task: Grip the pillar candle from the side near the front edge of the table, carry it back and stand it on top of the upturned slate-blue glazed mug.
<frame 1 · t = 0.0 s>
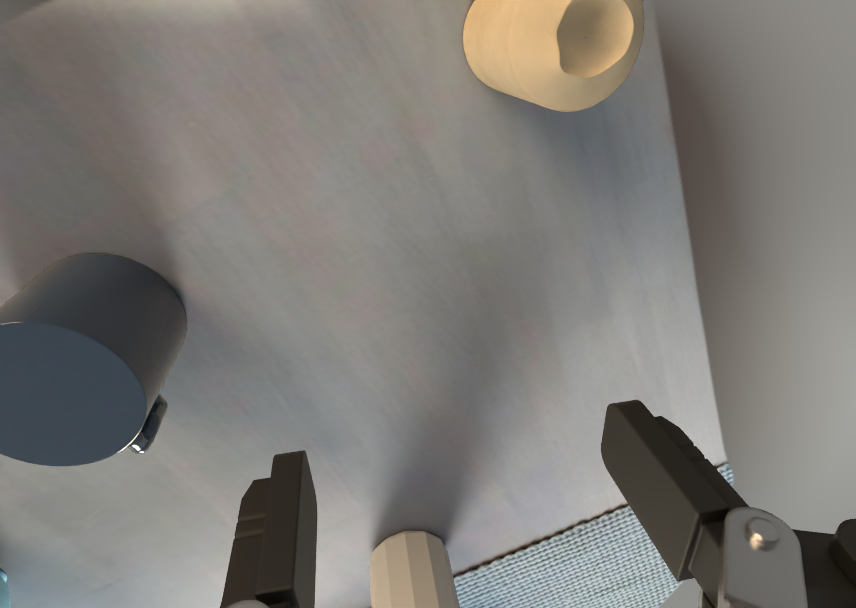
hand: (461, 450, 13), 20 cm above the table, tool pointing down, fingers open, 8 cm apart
water bottle: (403, 556, 47), on the table
mug: (111, 317, 31), on the table
candle: (510, 36, 27), on the table
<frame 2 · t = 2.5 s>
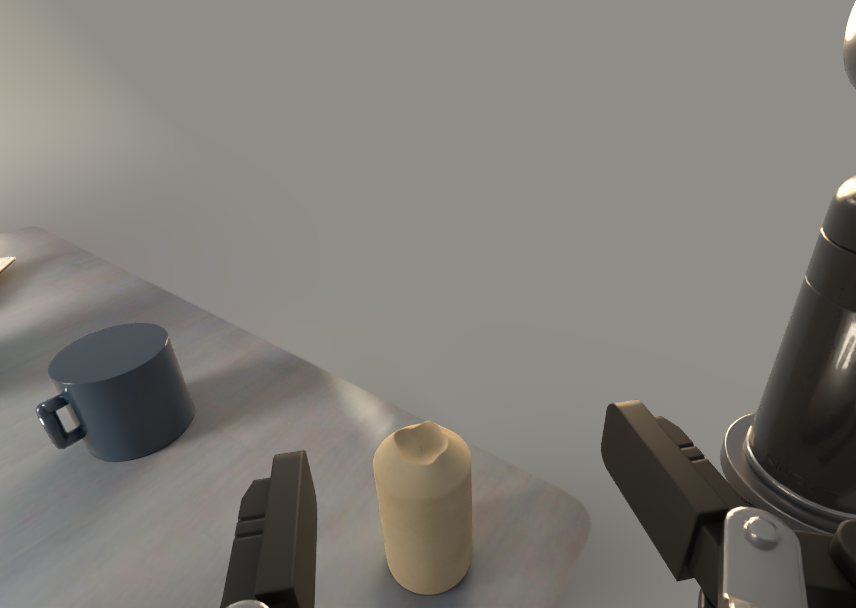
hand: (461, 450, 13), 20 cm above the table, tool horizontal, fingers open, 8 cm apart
mug: (143, 424, 45), on the table
candle: (429, 555, 33), on the table
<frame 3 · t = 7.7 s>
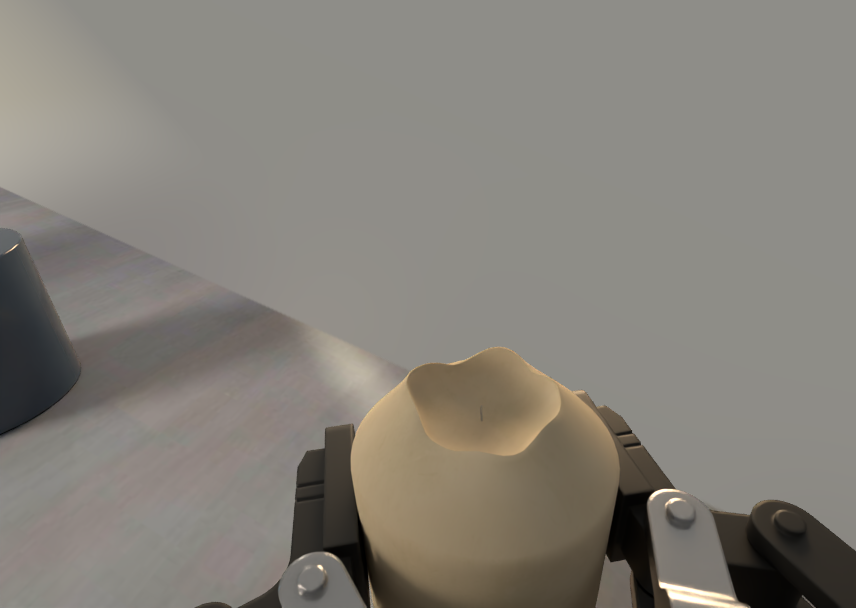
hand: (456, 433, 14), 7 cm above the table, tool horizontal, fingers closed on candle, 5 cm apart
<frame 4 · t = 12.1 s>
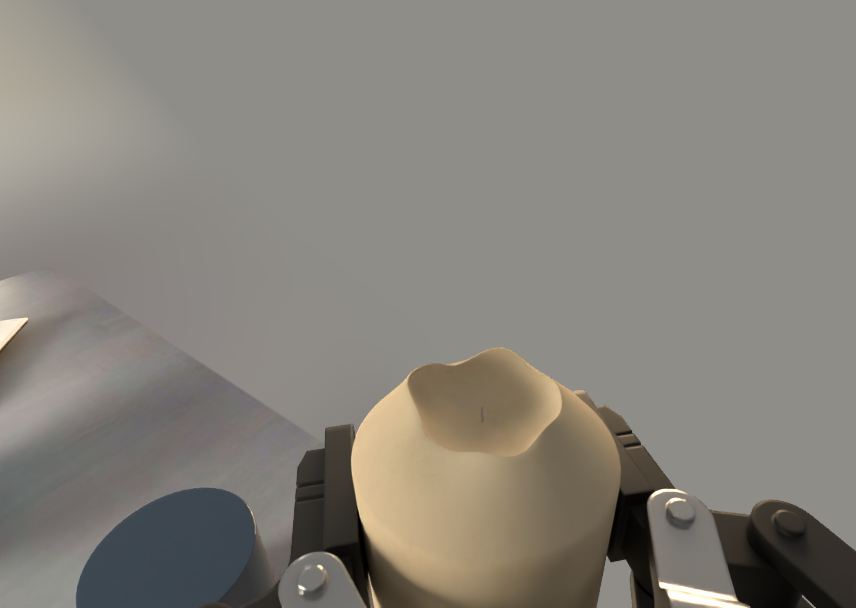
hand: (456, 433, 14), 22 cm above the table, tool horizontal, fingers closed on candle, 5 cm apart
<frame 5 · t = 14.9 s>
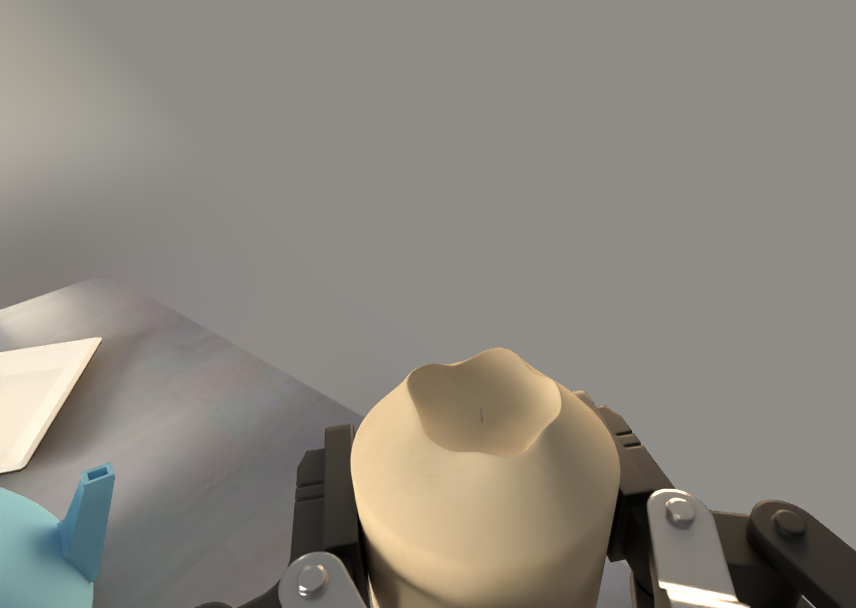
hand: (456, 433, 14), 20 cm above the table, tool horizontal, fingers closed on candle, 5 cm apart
when the fingers open (15 cm above the table, at t = 16.8 s): candle stays where it is, resting on mug.
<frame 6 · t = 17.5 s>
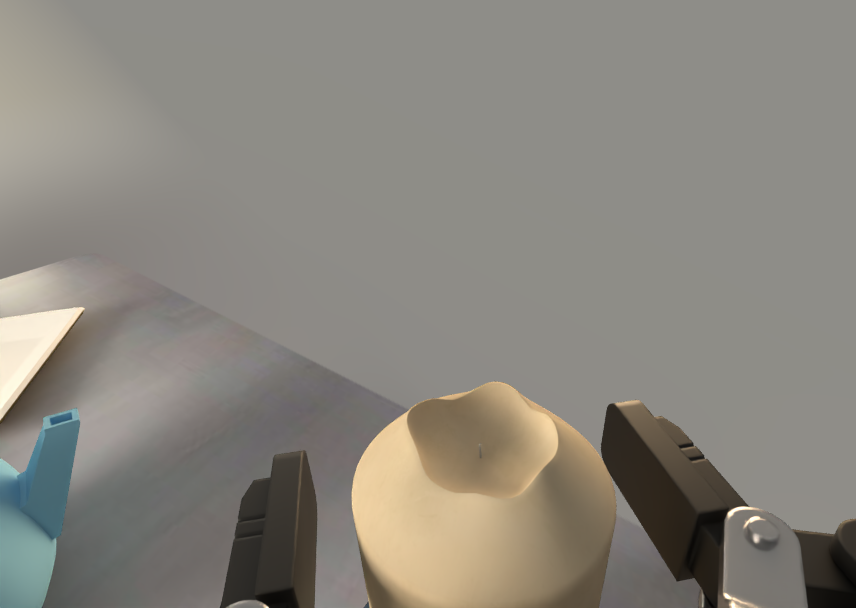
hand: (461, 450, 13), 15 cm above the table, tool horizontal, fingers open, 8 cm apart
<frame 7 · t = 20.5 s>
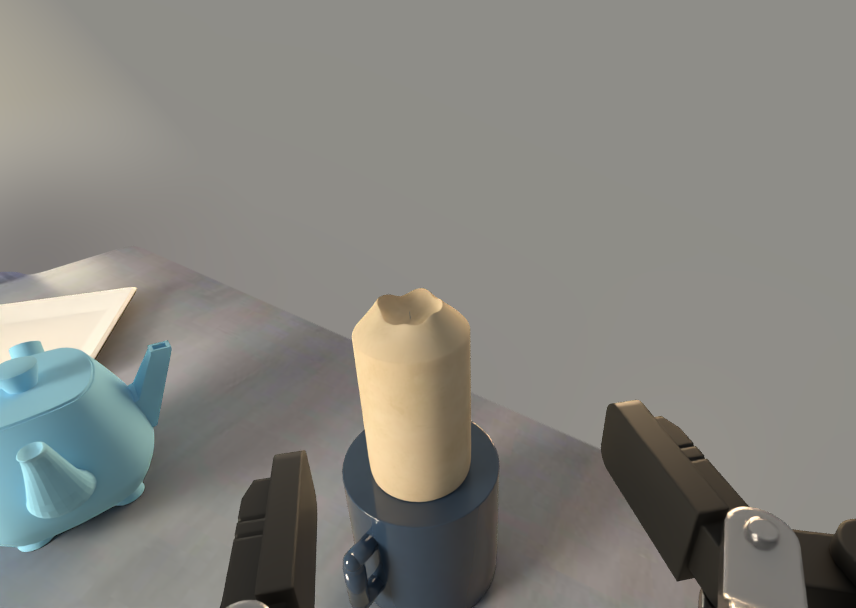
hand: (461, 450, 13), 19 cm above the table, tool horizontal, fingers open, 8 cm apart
mug: (427, 552, 32), on the table, touching candle
teapot: (89, 487, 38), on the table
candle: (420, 465, 28), point 8 cm above the table, touching mug
plate: (29, 352, 55), on the table
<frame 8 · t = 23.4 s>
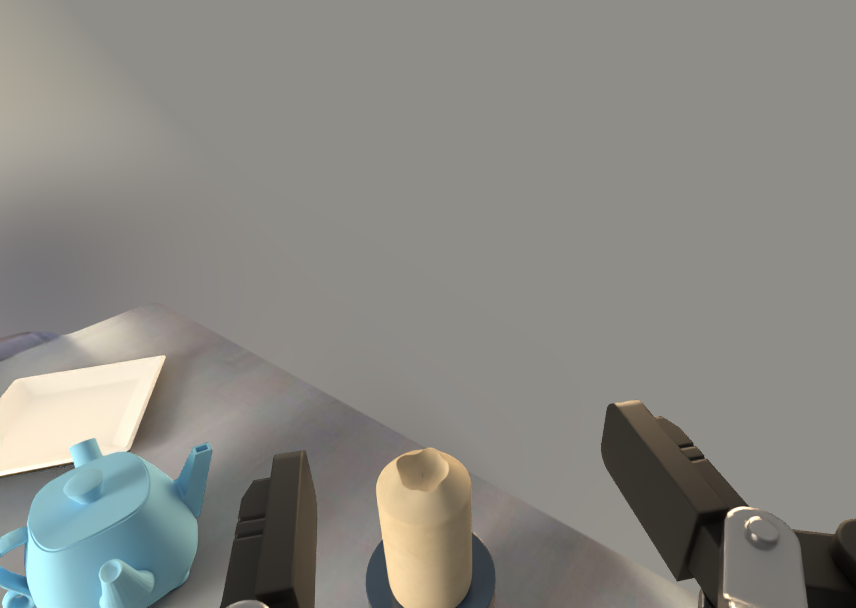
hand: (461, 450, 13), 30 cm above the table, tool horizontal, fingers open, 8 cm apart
teapot: (141, 570, 44), on the table
candle: (430, 577, 33), point 8 cm above the table, touching mug
plate: (72, 424, 61), on the table
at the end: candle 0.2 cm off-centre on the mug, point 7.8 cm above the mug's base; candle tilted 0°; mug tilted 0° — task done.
